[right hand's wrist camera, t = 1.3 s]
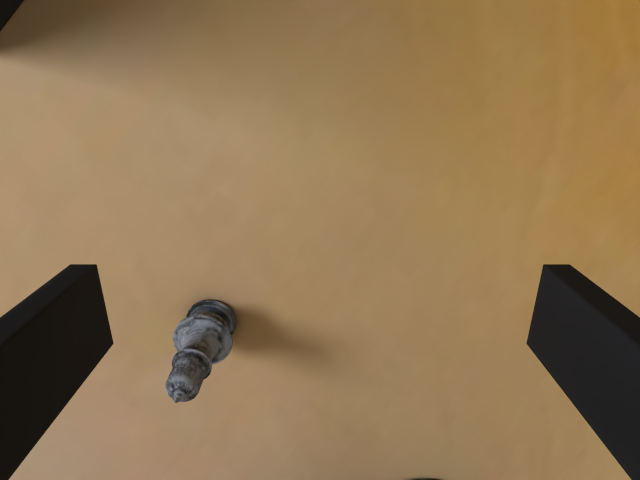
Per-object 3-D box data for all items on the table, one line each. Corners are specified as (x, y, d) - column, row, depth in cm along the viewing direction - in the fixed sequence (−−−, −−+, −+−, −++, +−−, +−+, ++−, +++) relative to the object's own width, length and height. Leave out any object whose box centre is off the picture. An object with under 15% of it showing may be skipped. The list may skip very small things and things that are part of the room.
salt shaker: (209, 286, 44) (171, 359, 32) (250, 323, 45) (227, 404, 34) (172, 319, 45) (123, 400, 34) (212, 353, 47) (179, 441, 35)
